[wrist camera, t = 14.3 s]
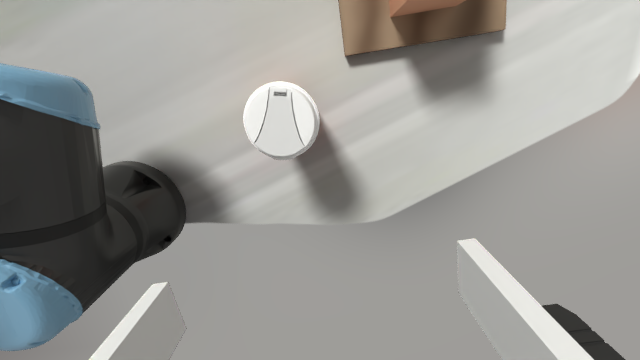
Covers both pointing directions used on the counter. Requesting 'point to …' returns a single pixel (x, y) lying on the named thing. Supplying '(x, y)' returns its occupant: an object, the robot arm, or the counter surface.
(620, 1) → the counter surface
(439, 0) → the peach bevelled cube
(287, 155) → the paper cup
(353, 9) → the wooden base with block
